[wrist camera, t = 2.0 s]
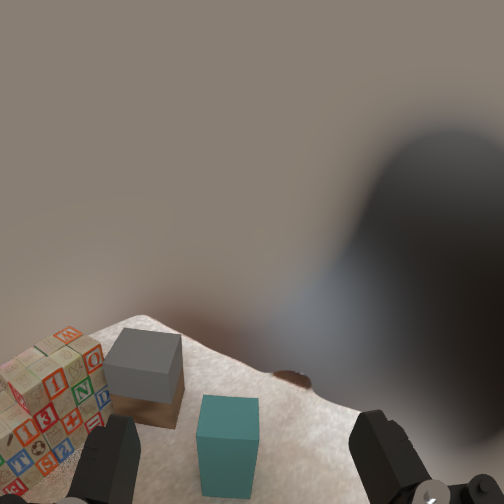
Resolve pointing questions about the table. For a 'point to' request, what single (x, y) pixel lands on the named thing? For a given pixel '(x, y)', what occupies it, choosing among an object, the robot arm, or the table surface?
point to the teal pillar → (227, 445)
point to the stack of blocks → (49, 406)
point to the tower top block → (144, 365)
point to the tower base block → (151, 408)
